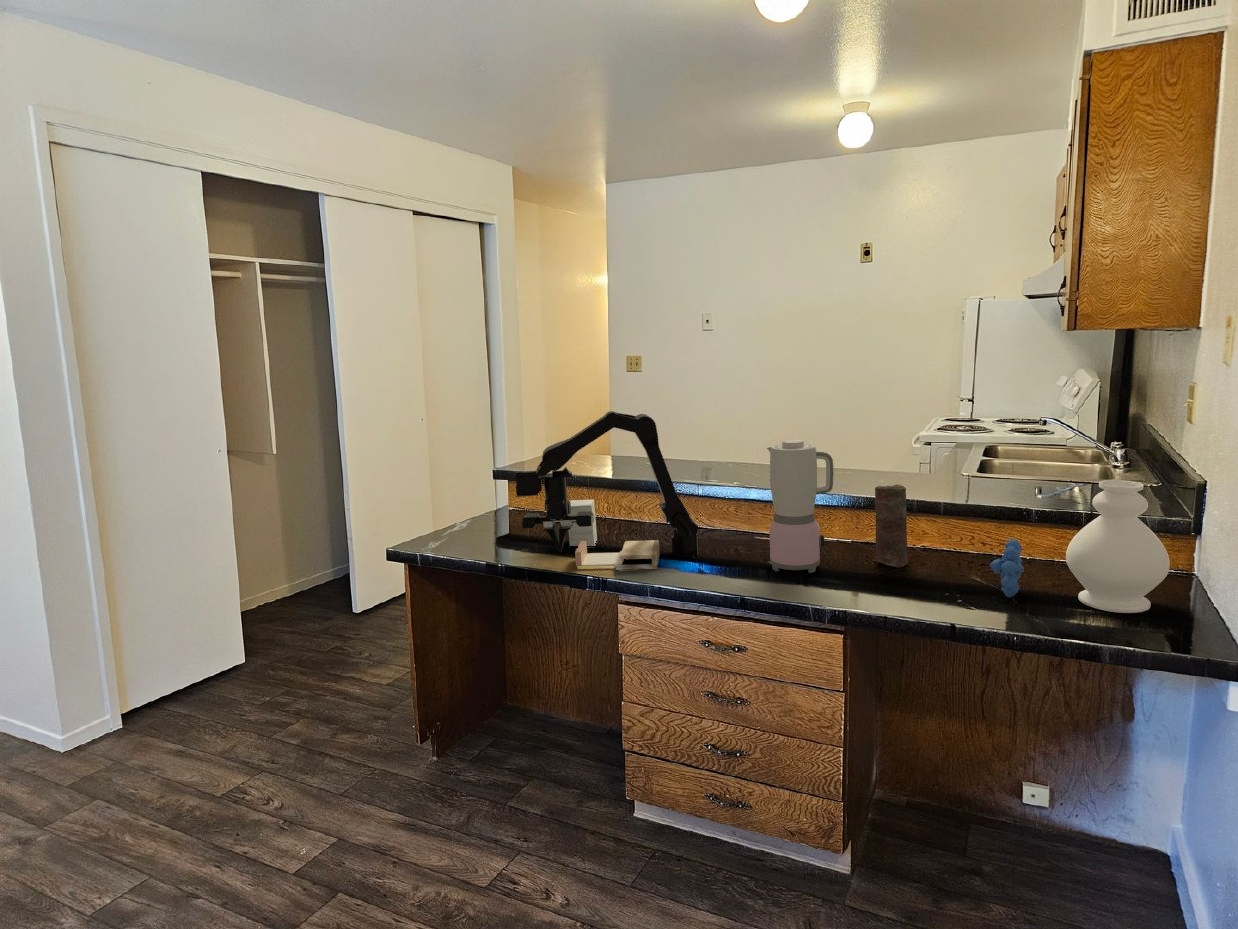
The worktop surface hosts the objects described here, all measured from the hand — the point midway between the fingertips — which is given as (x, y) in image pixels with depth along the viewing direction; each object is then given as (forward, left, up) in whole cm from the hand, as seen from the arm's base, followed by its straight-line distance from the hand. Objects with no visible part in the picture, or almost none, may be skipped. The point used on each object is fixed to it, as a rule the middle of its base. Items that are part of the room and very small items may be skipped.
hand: (560, 550), depth 204 cm
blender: (-62, +7, -4) cm, 63 cm away
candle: (-84, +6, -4) cm, 85 cm away
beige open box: (-20, 0, -4) cm, 20 cm away
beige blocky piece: (-11, 0, -4) cm, 12 cm away
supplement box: (-3, -18, -4) cm, 19 cm away
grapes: (-103, +28, -4) cm, 107 cm away
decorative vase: (-122, +34, -4) cm, 127 cm away
